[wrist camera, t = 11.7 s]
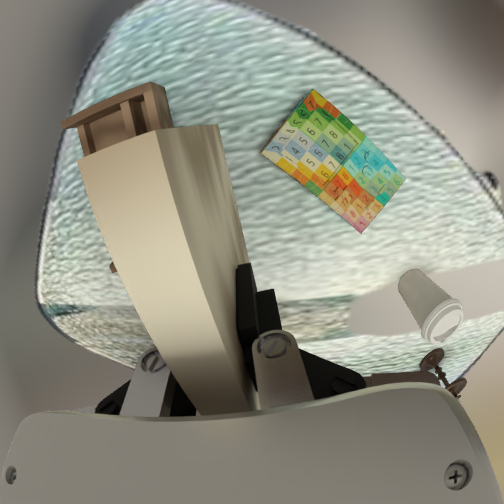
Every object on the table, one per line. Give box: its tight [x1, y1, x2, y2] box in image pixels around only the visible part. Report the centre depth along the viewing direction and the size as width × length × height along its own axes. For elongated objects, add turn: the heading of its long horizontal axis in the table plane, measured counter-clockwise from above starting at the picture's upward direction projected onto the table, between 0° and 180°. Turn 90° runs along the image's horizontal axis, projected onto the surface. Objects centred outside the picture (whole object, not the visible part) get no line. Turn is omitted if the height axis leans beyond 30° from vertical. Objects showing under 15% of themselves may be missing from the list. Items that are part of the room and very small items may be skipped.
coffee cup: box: [398, 269, 464, 344], centre depth 44 cm, size 10×10×15 cm
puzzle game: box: [260, 89, 406, 233], centre depth 38 cm, size 12×5×20 cm
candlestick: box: [419, 348, 467, 410], centre depth 50 cm, size 11×11×35 cm
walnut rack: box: [61, 82, 174, 273], centre depth 36 cm, size 24×14×7 cm, turn 11°
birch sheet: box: [77, 124, 261, 416], centre depth 13 cm, size 14×2×14 cm, turn 11°
